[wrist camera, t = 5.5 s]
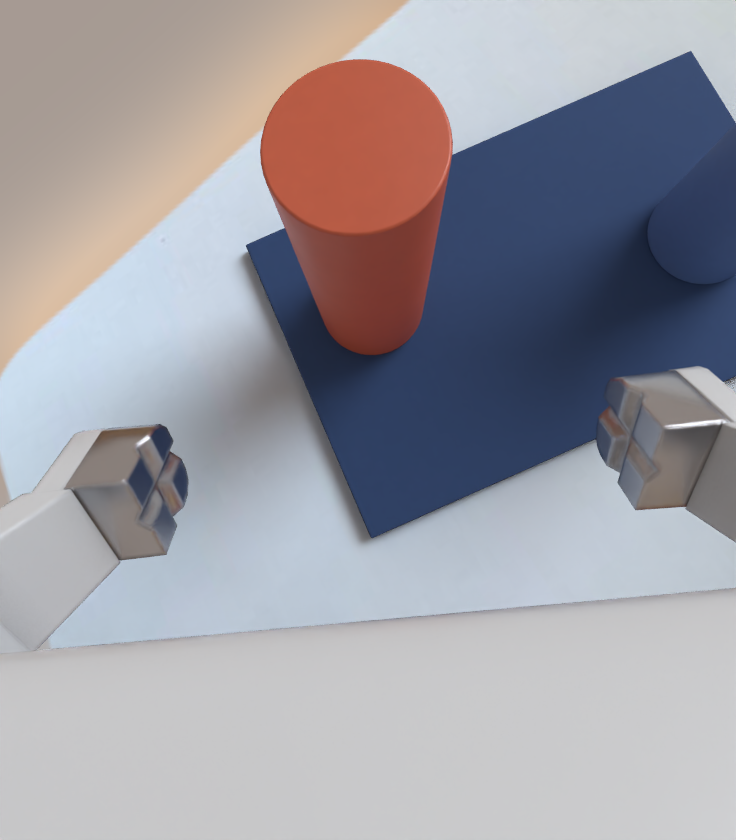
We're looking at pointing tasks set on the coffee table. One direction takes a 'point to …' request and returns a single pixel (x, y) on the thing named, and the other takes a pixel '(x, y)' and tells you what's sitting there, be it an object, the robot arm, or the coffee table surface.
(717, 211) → the blue peg
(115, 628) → the coffee table surface
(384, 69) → the red peg
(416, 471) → the blue mat
